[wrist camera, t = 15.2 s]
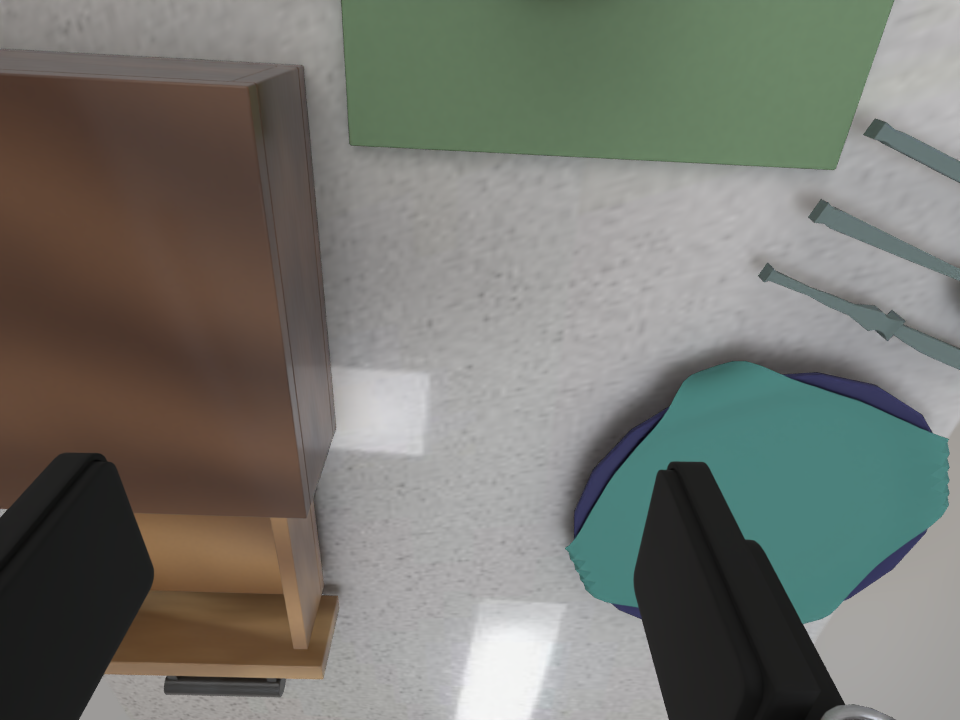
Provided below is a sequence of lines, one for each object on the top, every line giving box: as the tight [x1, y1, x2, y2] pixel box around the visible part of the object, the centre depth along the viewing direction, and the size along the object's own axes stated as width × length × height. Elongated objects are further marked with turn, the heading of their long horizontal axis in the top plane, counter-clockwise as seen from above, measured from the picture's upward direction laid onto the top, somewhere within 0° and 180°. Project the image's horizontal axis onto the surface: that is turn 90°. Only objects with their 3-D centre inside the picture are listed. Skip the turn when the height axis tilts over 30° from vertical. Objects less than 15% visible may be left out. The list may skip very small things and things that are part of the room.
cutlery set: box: [565, 119, 960, 624], centre depth 31 cm, size 20×30×2 cm, turn 158°
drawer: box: [104, 500, 339, 697], centre depth 33 cm, size 21×13×5 cm, turn 177°
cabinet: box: [0, 49, 336, 519], centre depth 25 cm, size 18×15×7 cm
